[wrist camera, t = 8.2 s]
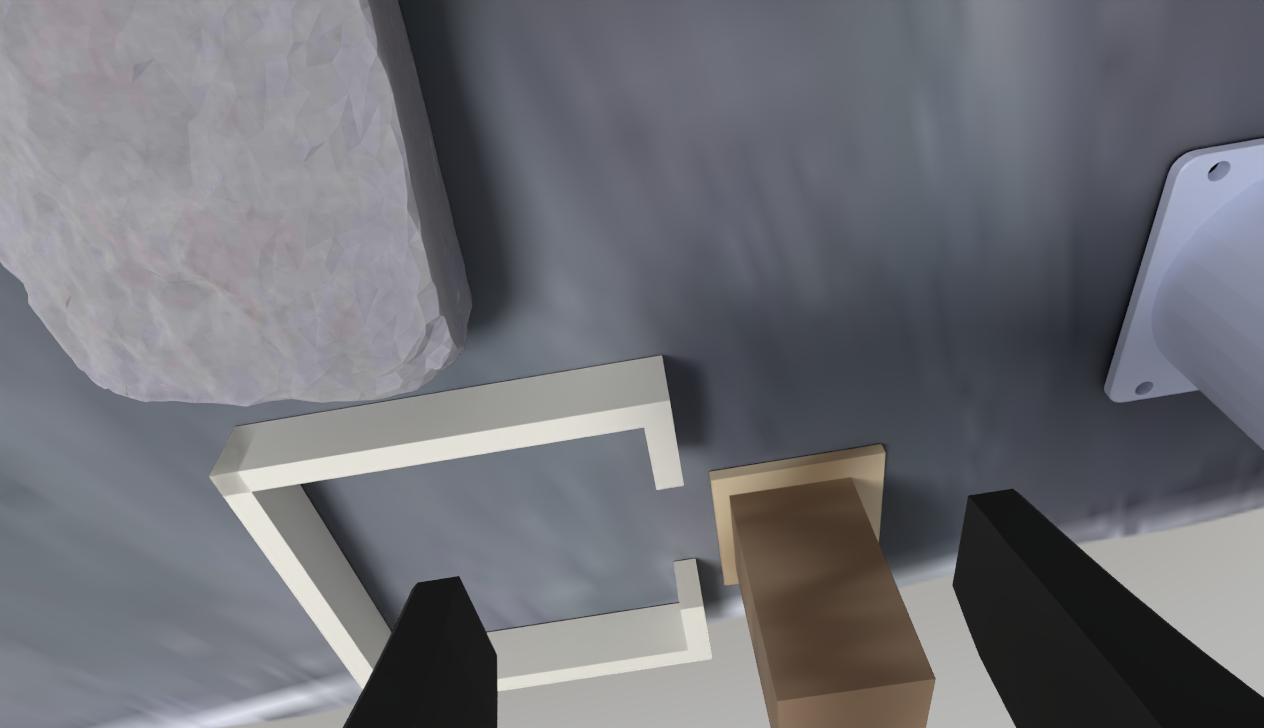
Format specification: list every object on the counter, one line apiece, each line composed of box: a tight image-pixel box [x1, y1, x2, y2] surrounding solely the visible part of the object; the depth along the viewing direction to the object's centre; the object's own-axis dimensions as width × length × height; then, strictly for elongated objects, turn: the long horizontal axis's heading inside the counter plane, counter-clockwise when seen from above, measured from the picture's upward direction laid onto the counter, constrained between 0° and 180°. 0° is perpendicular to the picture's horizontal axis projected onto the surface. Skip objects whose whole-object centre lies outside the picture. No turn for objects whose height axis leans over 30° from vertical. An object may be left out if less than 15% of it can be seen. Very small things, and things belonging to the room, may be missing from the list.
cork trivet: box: [709, 444, 886, 585], centre depth 26 cm, size 6×6×1 cm
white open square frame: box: [209, 355, 712, 691], centre depth 25 cm, size 13×13×2 cm
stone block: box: [0, 0, 472, 407], centre depth 16 cm, size 12×5×10 cm
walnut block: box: [729, 477, 935, 728], centre depth 23 cm, size 4×4×7 cm
